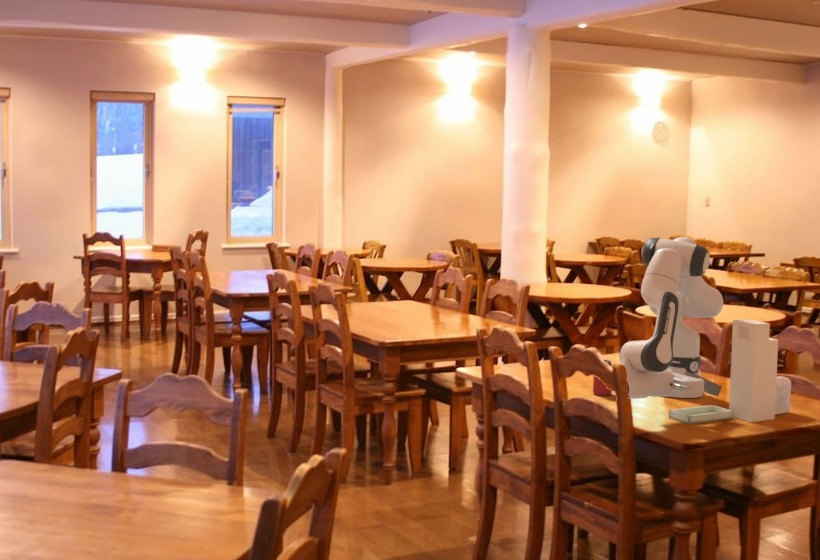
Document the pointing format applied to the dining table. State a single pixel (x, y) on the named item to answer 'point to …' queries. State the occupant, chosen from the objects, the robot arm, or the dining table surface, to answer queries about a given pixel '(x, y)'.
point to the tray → (700, 414)
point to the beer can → (600, 385)
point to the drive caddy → (707, 385)
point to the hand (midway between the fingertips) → (695, 379)
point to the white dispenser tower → (753, 371)
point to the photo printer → (782, 395)
